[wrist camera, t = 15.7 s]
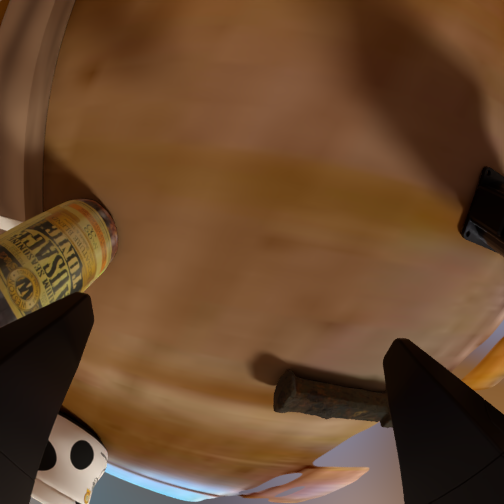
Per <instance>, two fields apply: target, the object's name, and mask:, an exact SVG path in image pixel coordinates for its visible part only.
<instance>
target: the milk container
mask: <svg viewBox="0 0 504 504" xmlns="http://www.w3.org/2000/svg"><path fill="white" fill-rule="evenodd" d="M107 459H108V454H107V450H106V448H105V446H104V445H103V443H102V442H101V441H100V440H99V439H98V438H97V437H96V436H95V435H94V434H93V433H91V432H90V431H89V430H87V429H86V428H85V427H83V426H82V425H81V424H79V423H77V422H76V421H74V420H72V419H71V418H69V417H68V416H66V415H64V414H62V413H60V412H59V413H58V415H57V418H56V420H55V423H54V425H53V428H52V431H51V433H50V436H49V439H48V442H47V445H46V447H45V450H44V453H43V456H42V459H41V463H40V466H39V469H38V472H37V476H36V479H35V483H34V487H33V490H32V494H31V497H32V498H34V499H36V500H37V501H39V502H41V503H42V504H89V501H90V498H91V494H92V491H93V488H94V486H95V484H96V483H97V481H98V480H99V479H100V477H101V476H102V474H103V473H104V471H105V469H106V465H107Z"/></svg>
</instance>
